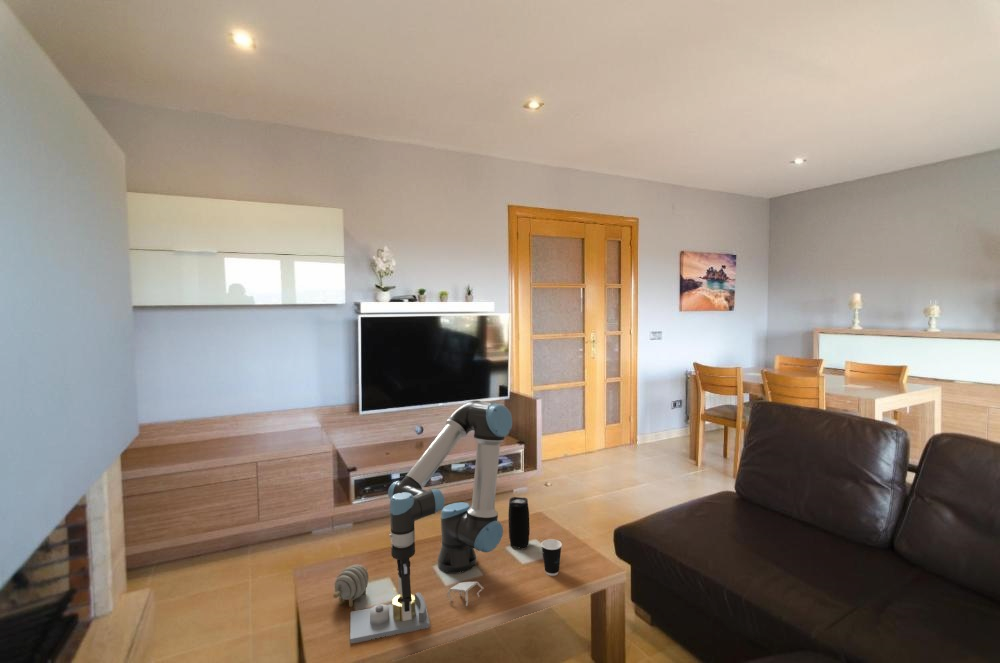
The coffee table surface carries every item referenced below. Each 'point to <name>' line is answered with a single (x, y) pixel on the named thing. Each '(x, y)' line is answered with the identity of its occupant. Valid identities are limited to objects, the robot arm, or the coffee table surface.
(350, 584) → the toy sheep
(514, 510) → the portable speaker
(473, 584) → the origami figure
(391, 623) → the carrier plate
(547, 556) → the dixie cup
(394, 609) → the gold octagonal ring
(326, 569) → the coffee table surface
